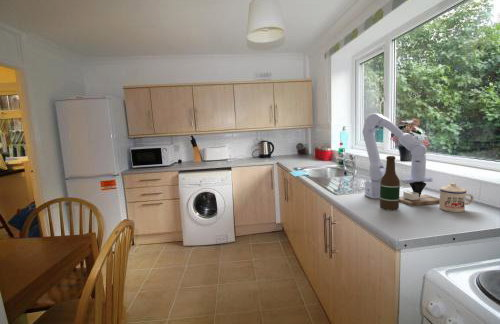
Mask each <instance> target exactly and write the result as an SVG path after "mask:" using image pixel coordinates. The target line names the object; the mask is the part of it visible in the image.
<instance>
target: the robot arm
mask: <svg viewBox="0 0 500 324" xmlns="http://www.w3.org/2000/svg"><path fill="white" fill-rule="evenodd" d="M363 125H364V126H363V129H362V135H363V139H364V145H365V147H366V152H367V157H368V160H369V174H368V176H369V178H370V180H367V181H366V182H364V194H363V195H364V196H365V195H366V196H365V197H368V198H371V199H374V200H375V199H380V184H381V179H382V177H383V176H384V174H385V172H386V167H385V166H384V164H383V162H382V161H381V158H380V153H379V150H378V145H377V142H376V137H375V134H374V133H375V132H376V131H377V129H378V128H379V127H381V128H386V129H387V130H388V131H389V132H391V133H392V134H393V135H394V136H396V138H398V142H399V144H401V145H402V146H403V147H405V149H406V150H407V151H410V155H411V165H410V167H411V169H410V177H407V178H403V179H402V184H405V185H407V184H409V185H410V187H411V189H412V190H411V191H413V192H416V193H419V197H420V195H422V193H423V190H424V189H425V187H426V186H427V183H426V182H428V183H429V182H430V183H432V182H433V179H434V178H433V177H431V176H430V177H429V176H427V177H426V164H427V160H426V158H427V155H426V154H427V152H428V148H427V147H426V144H424V143H422V142H421V141H419V140H417V138H415V137H414V134H412V133H409V132H404V131H402V130H401V128H399V127H398V126H397V125H396V124H395V123H394V122H393V121H391V120H390V119H389V118H388V117H386V116H384V115H383V114H382V113H374V112H373V113H370V114H369V115H368V116H367V117H366V118H365V120H364V124H363Z"/></svg>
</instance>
